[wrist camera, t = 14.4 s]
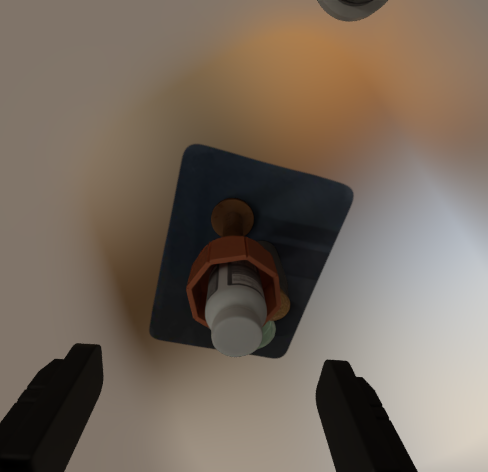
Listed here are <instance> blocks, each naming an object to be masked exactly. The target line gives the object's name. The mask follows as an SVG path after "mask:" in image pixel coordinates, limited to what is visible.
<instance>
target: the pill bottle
mask: <svg viewBox="0 0 488 472" xmlns="http://www.w3.org/2000/svg"><path fill="white" fill-rule="evenodd" d="M266 317H267V306H266V302H265V297H264V292H263V287H262V282H261V277H260V273H259V269H258V267H257V266H255V265H254V264H252V263H251V262H249V261H248V260H240V261H233V262H226V263H219V264H213V265H212V267H211V270H210V275H209V282H208V292H207V299H206V307H205V318H206V322H207V324H208V326H209V328H210V329H211V331H212V336H211V337H212V342H213V345H214V347H215V348H216V349H217V350H218V351H219V352H221V353H222V354H225V355H227V356H230V357H241V356H245V355H248V354H250V353H252V352H254V351H255V350H256V349H257V348H258V347H259V345H260V344H261V342H262V337H263V332H262V326H263V325H264V323H265V321H266Z"/></svg>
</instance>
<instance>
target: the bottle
mask: <svg viewBox="0 0 488 472" xmlns="http://www.w3.org/2000/svg"><path fill="white" fill-rule="evenodd" d="M256 242H258V243H259V244H260V245H262V246H263V247H264V248H265V249H266V250H267V251H268V252H270V253H271V255H272V256H273V260H274V263H275V266H276V270H277V273H278V276H279V285H280V294H281V304H282V305H281V306H280V307H281V308H280V309H279V310H278V311H277V312H276V313H275V315H274V316H273V317H272V318H271V319H270V320H269V321H275V320H279V319H281V318H283V317H284V316H285V315H286V314H287V313H288V311H289V309H290V301H289V293H288V290H287V289H288V283H287V279H286V276H285V273H284V270H283V267H282V264H281V261H280V259H279V256H278V253H277V250H276V248H275V247H274V246H273V245H272V244H271V243H269V242H267V241H256Z"/></svg>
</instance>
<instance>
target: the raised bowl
mask: <svg viewBox="0 0 488 472" xmlns="http://www.w3.org/2000/svg"><path fill="white" fill-rule="evenodd" d="M240 260H248V261H249V262H251V263H252V264H254V265H255V266H257V267H258V269H259V273H260V277H261V282H262V287H263V292H264V297H265V302H266V306H267V317H266V321H265V323H264V325H265V324H266V323H267V322H268V321H269V320H270V319H271V318H272V317H273V316H274V315H275V313H276V312H277V311H278V310H279V309H280V308H281V307H280V306H281V305H282V304H281V294H280V285H279V276H278V273H277V270H276V266H275V263H274V260H273V256H272V255H271V253H270V252H268V251H267V250H266V249H265V248H264V247H263V246H262V245H260V244H259V243H258V242H256V241H254V240H252V239H250V238H248V237H244V236H226V237H222V238H219V239H216V240H213V241H212V242H209V244H208V245H207V246H206V247H205V248H204V249H203V250H202V251H201V252H200V254H199V256H198V258H197V259H196V260H195V262H194V263H193V264H192V268H191V272H190V276H189V280H188V284H187V289H186V291H187V295H188V299H189V303H190V307H191V311H192V315H193V318H195V320H196V321H198V322H199V323H201V324H203V325H205V326H207V327H208V328H209V326H208V324H207V322H206V318H205V307H206V299H207V292H208V282H209V275H210V270H211V267H212V265H213V264H219V263H226V262H233V261H240ZM264 325H263V326H264ZM263 326H262V327H263Z"/></svg>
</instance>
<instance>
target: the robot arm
mask: <svg viewBox="0 0 488 472" xmlns="http://www.w3.org/2000/svg"><path fill="white" fill-rule="evenodd" d="M338 1H340V2H341V3H343V4H345V5H348V6H363V5H366V4H368V3H370V2H372V1H373V0H338ZM102 385H103V364H102V351H101V346H100V345H97V344H96V345H95V344H81V343H77V344H75V345H74V346H73V347H72V348H71V350H70V351H69V353H68V354H67V356H66V357H65V358H64V359H54V360H53V361H52V362H50V363H49V364H48V365H46V366H45V367H44V368H42V369H41V370H40V371H39V372H38V373H37V374H36V376H35V377H34V378H33V380H32V381H31V382H30V384H29V385H28V386H27V389H26V390H24V392H23V393H22V394H21V396H20V397H19V399H18V401H17V403H15V404H14V405H13V406H12V408H11V409H10V411H9V412H8V413H7V415H6V416H5V417H4V419H3V420H2V421H1V423H0V472H64V471H65V469H66V466H67V465H68V462H69V460H70V458H71V456H72V454H73V451H74V449H75V447H76V445H77V443H78V441H79V439H80V436H81V434H82V432H83V430H84V428H85V426H86V424H87V422H88V419H89V417H90V415H91V413H92V411H93V409H94V406H95V404H96V402H97V400H98V398H99V395H100V392H101V389H102ZM316 405H317V409H318V413H319V416H320V419H321V423H322V426H323V429H324V433H325V436H326V439H327V442H328V446H329V449H330V452H331V456H332V459H333V462H334V466H335V469H336V472H418V471H417V469H416V468H415V466H414V464H413V462H412V460H411V458H410V456H409V454H408V452H407V451H406V449H405V447H404V445H403V443H402V441H401V439H400V437H399V435H398V434H397V432H396V430H395V428H394V426H393V424H392V422H391V421H390V420H389V417H388V415H387V413H386V411H385V409H384V408H383V407H382V403H381V401H380V400H379V398H378V396H377V394H376V392H375V390H374V389H373V388H372V387H371V386H370V385H369V384H368V383H367V382H366V381H365V379H364V378H363V377H356V376H355V374H354V372H353V369H352V367H351V365H350V364H349V362H347V361H341V360H326V361H325V362H324V365H323V368H322V372H321V375H320V378H319V382H318V385H317V388H316Z"/></svg>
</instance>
